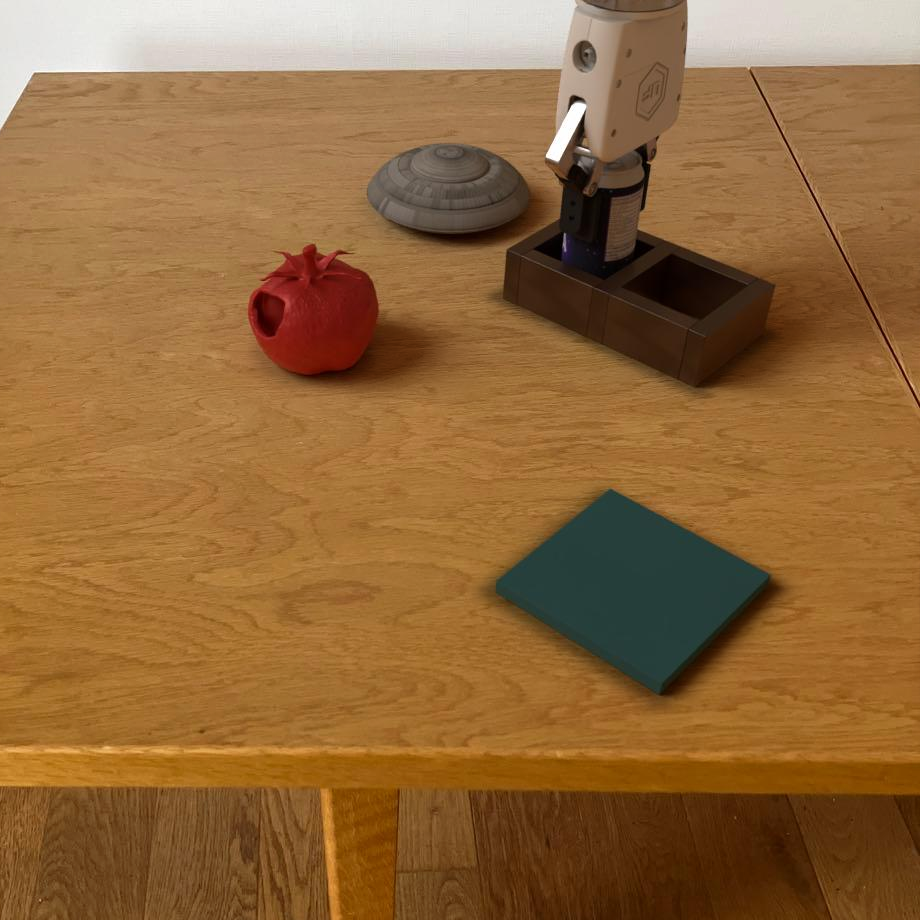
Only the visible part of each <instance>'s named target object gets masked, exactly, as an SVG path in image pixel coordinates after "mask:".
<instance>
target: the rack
mask: <svg viewBox="0 0 920 920" xmlns="http://www.w3.org/2000/svg"><path fill="white" fill-rule="evenodd" d="M559 222H560V218H558V219H556V220H554V221H553V222H551V223H549V224H548V225H545V226H544V227H543V228H541V229H539V230H538V231H536V232H534V233H532V234H530V235H529V236H526V237H525V238H524V239H522V240H519V241H518V242H517V243H515V244H513V245H511V246H510V247H508V248H506V250H505V262H504V263H505V264H504V275H503V276H504V277H503V289H502V299H504V300H506V301H508V302H511V303H513V304H515V305H517V306H519V307H521V308H523V309H526V310H527V311H530V312H532V313H533V314H537V315H538V316H541V317H543V318H545V319H547V320H549V321H551V322H554V323H556V324H558V325H560V326H562V327H564V328H566V329H569V330H571V331H573V332H575V333H577V334H580V335H581V336H584V337H586V338H587V339H590V340H592V341H594V342H596V343H599V344H601V345H603V346H605V347H607V348H609V349H611V350H614V351H615V352H618V353H620V354H622V355H624V356H627V357H629V358H631V359H633V360H635V361H637V362H639V363H641V364H644V365H646V366H647V367H650V368H652V369H655V370H656V371H659V372H661V373H663V374H665V375H667V376H669V377H672V378H674V379H676V380H679V381H680V382H683V383H685V384H687V385H689V386H691V387H693V388H696V387H697V386H699V385H700V384H701V383H702V382H703V381H705V380H706V379H707V378H709V377H710V376H711V375H712V374H714V373H715V372H716V371H718V370H719V369H720V368H722V367H723V366H724V365H725V364H727V363H728V362H729V361H731V360H732V359H733V358H734V357H736V356H737V355H738V354H740V353H741V352H742V351H743V350H744V349H746V348H747V347H748V346H750V345H751V344H752V343H754V342H755V341H756V340H757V339H759V338H760V337H761V336H762V335H763V334H764V333H765V328H766V324H767V321H768V316H769V312H770V309H771V305H772V301H773V297H774V294H775V288H776V284H775V283H773V282H771V281H769V280H766V279H763V278H760V277H759V276H756V275H754V274H751V273H749V272H746V271H744V270H742V269H739V268H736V267H735V266H732V265H729V264H726V263H724V262H721V261H719V260H716V259H713V258H712V257H708V256H706V255H703V254H701V253H699V252H696V251H693V250H691V249H689V248H686V247H684V246H681V245H678V244H676V243H674V242H672V241H668V240H666V239H663V238H661V237H658V236H656V235H653V234H651V233H649V232H645V231H643V230H641V229H637V236H636V243H635V249H634V256H633V262H632V263H630V264H629V265H627V266H626V267H624V268H622V269H621V270H619V271H618V272H616V273H615V274H613V275H612V276H610V277H609V278H607V279H605V280H603V279H601V278H598V277H596V276H594V275H591V274H589V273H587V272H584V271H582V270H580V269H577V268H575V267H573V266H570V265H568V264H566V263H563V262H561V259H562V249H563V239H564V233H563V232H562V231H561V230H560V228H559ZM662 303H663V304H666V305H668V306H670V307H673V308H675V309H678V310H680V311H683V312H685V313H686V314H687V313H688V314H689V315H691V316H693V317H696V318H698V319H701V320H698V319H696V318H693V317H691V316H688V315H686V314H684V313H681V312H680V311H677V310H675V309H673V308H670V307H667V306H666V305H663V304H662Z"/></svg>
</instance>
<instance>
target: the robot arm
mask: <svg viewBox="0 0 920 920" xmlns="http://www.w3.org/2000/svg"><path fill="white" fill-rule="evenodd" d="M574 2H575V4H576V6H575V7H574V10H573V14H572V19H571V21H570V22H571V23H570V26H569V31H568V35H567V40H566V44H565V49H564V56H563V61H562V67H561V73H560V80H559V86H558V87H559V88H558V95H557V104H556V112H555V113H556V114H555V115H556V116H555V137H554V139H553V141H552V143H551V145H550V147H549V149H548V151H547V153H546V155H545V157H544V163H545V165H546V166H547V167H548V168H549V169H550V170H551V171H552V172H553V173H554V176H555V177H556V178H557V179H558V185H559V186H561V187H562V193H561V203H560V204H561V205H560V214H559V219H560V222H559V228H560V230H561V231H562V232H563V233H566V234H568V235H571V236H573V237H576V238H578V239H581V240H583V241H586V242H588V243H591V242H592V241H594V240H596V238H597V230H598V222H599V214H600V206H601V198H602V193H600V192H597V188H598V185H599V182H600V178H601V175H602V172H603V169H604V165H605V162H611V161H614V160H616V159H618V158H620V157H622V156H624V155H626V154H627V153H629V152H631V151H633V150H634V151H636V152H637V153H639V155H640V156H641V158H642V164H641V165H642V168H643V170H644V173H645V181H644V188H643V195H642V202H641V208H640V213H641V212H642V211H644V210H645V208H646V202H647V196H648V188H649V182H650V175H651V169H652V164H651V162H653V161H654V160H655V159H656V156H657V154H658V145H657V142H658V140H659V138H660V136H661V135H662V134H664V133H665V132H667V131H669V130H670V129H671V128H672V127H673V126H674V125H675V123H676V122H677V120H678V117H679V113H680V106H681V99H682V93H683V87H684V86H683V84H684V77H685V66H686V58H687V57H686V55H687V45H688V29H689V28H688V26H689V21H688V19H689V18H688V17H689V16H688V15H689V14H688V13H689V10H688V8H689V7H688V0H574ZM584 139H586V142H587V145H585V144H583V143H584ZM580 156H584V157H587V158H589V159H592V160H591V163H590V166H589V170H588V173H587V174H586V172H585V171H584V170H583V169H582V167H581V166H578V162H579V159H580Z"/></svg>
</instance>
